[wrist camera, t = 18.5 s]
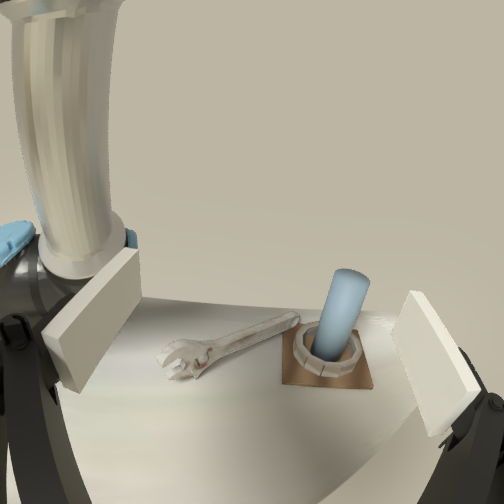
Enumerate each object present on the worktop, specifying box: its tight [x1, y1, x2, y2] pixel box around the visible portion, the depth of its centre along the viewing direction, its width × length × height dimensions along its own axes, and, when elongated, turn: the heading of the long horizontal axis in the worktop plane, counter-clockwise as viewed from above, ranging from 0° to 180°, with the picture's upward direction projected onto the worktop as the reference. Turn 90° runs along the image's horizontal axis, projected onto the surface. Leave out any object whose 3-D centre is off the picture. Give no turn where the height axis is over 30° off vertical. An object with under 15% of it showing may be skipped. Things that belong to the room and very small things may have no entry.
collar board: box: [282, 321, 373, 389], centre depth 51 cm, size 16×16×3 cm
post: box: [310, 269, 370, 362], centre depth 48 cm, size 6×6×16 cm
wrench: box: [157, 311, 300, 380], centre depth 48 cm, size 8×2×30 cm
